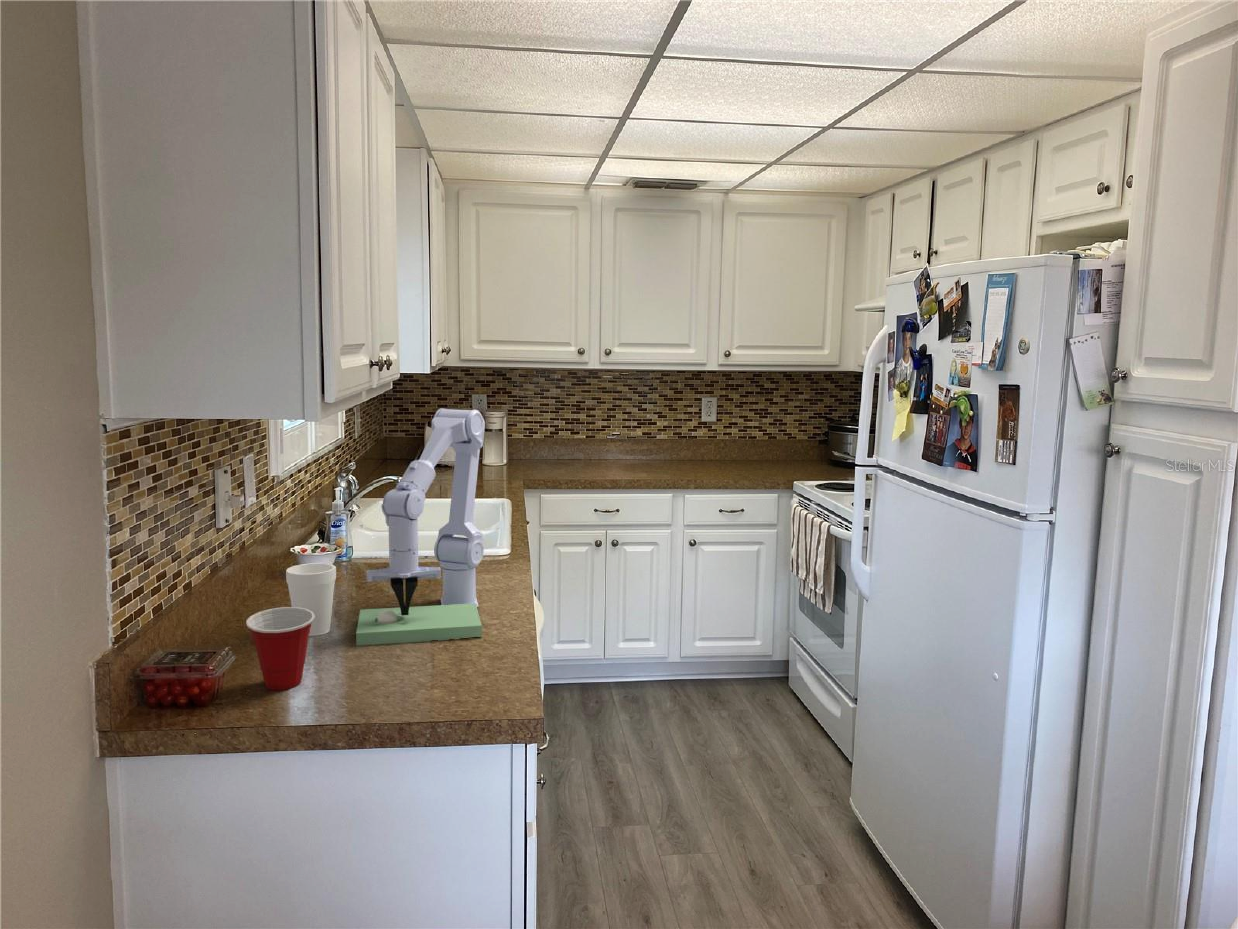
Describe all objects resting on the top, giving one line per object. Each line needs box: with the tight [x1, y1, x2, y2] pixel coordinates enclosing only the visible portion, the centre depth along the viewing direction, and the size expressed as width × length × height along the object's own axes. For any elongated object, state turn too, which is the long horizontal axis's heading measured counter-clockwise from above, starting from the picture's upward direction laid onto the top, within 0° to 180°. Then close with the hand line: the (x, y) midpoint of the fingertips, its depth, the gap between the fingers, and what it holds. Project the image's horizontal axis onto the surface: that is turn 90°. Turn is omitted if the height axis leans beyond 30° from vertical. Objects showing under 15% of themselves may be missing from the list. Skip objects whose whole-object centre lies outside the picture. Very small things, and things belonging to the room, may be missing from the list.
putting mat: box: [355, 603, 483, 647], centre depth 178 cm, size 16×24×2 cm, turn 104°
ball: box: [377, 610, 398, 624], centre depth 177 cm, size 4×4×4 cm
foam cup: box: [285, 562, 337, 637], centre depth 175 cm, size 10×9×13 cm
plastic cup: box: [245, 606, 315, 691], centre depth 147 cm, size 11×11×12 cm
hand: (404, 613), depth 177 cm, fingers closed
